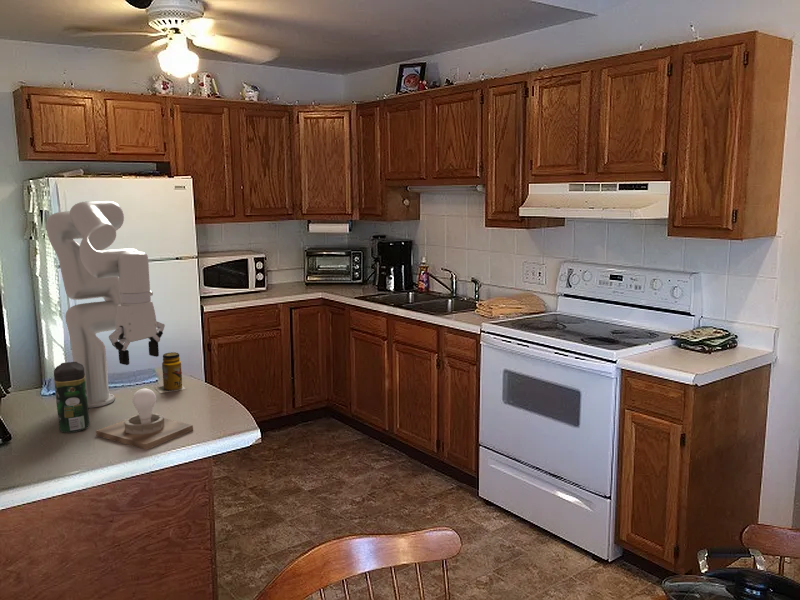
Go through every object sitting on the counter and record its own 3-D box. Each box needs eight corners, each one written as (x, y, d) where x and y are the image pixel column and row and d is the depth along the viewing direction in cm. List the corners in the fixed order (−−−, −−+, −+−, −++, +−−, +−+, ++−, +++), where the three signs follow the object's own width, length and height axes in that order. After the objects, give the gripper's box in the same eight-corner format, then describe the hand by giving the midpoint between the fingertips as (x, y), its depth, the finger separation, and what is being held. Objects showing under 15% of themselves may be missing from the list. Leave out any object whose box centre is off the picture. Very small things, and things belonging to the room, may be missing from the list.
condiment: (186, 389, 226) (184, 354, 223) (160, 393, 221) (157, 358, 219) (180, 384, 232) (177, 350, 229) (154, 388, 227) (152, 353, 225)
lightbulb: (129, 429, 184) (126, 391, 182) (143, 422, 190) (140, 384, 188) (149, 431, 183) (146, 392, 181) (162, 424, 189) (159, 386, 187)
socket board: (96, 435, 184) (95, 421, 184) (144, 418, 198) (143, 405, 197) (146, 449, 174) (145, 435, 174) (193, 430, 188) (192, 416, 187)
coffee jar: (59, 424, 193) (53, 361, 190) (89, 420, 196) (84, 358, 193) (58, 435, 184) (52, 370, 181) (89, 431, 188) (84, 366, 185)
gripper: (152, 292, 189) (155, 351, 192) (98, 301, 174) (102, 365, 177) (170, 294, 185) (174, 354, 188) (117, 304, 170) (121, 369, 174)
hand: (139, 359), depth 183 cm, fingers open, 9 cm apart
